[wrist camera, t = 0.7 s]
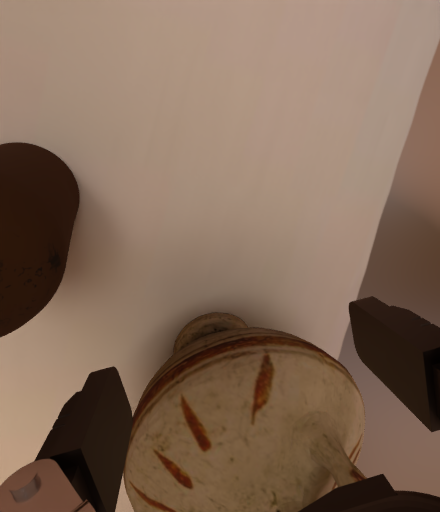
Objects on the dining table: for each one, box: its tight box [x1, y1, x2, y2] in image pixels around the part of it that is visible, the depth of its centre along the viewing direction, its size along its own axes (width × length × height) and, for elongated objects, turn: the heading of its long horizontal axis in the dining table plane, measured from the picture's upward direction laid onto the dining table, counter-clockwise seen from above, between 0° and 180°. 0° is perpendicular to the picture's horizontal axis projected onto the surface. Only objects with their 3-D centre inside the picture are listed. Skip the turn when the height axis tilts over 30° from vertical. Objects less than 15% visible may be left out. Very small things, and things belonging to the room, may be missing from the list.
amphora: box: [123, 313, 367, 512], centre depth 34 cm, size 24×24×30 cm
